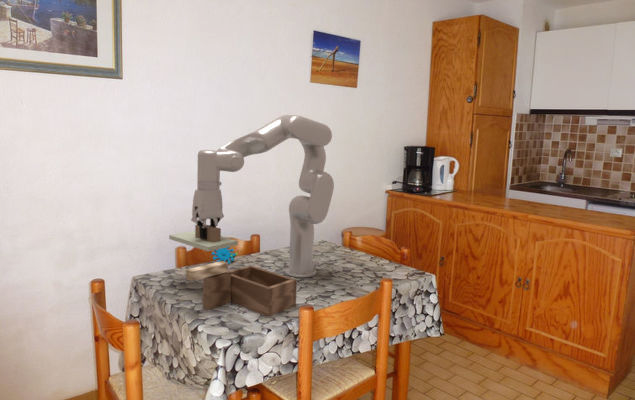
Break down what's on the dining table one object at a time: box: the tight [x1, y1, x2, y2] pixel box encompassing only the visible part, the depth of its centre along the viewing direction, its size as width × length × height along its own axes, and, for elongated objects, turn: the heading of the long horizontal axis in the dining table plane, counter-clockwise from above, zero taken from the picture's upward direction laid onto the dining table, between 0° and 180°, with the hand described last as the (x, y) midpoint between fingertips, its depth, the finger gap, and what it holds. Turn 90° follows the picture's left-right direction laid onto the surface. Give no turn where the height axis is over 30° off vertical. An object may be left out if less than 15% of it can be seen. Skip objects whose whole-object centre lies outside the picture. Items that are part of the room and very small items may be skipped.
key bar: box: [185, 260, 229, 282], centre depth 150 cm, size 14×3×3 cm, turn 141°
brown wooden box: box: [202, 265, 298, 318], centre depth 154 cm, size 22×22×10 cm
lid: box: [169, 224, 239, 252], centre depth 168 cm, size 13×22×6 cm, turn 51°
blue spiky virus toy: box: [210, 247, 238, 265], centre depth 202 cm, size 11×6×10 cm
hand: (207, 237), depth 166 cm, fingers closed on lid, 3 cm apart
